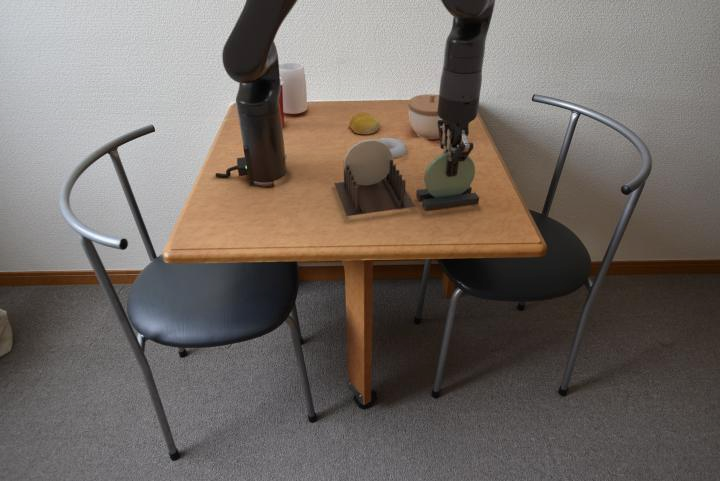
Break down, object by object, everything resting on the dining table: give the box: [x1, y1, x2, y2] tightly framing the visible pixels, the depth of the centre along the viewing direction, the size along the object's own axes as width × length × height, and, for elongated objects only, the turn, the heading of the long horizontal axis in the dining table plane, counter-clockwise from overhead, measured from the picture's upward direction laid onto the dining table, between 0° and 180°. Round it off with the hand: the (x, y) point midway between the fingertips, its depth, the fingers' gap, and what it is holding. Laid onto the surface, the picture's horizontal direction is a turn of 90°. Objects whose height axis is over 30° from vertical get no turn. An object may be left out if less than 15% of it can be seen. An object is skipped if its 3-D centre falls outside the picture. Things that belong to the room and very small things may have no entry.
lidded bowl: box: [407, 93, 442, 140], centre depth 130 cm, size 13×13×11 cm
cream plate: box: [343, 138, 394, 186], centre depth 105 cm, size 11×1×11 cm, turn 103°
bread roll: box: [348, 112, 380, 135], centre depth 135 cm, size 8×9×4 cm
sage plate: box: [423, 151, 476, 198], centre depth 99 cm, size 11×1×11 cm, turn 103°
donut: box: [376, 137, 408, 160], centre depth 122 cm, size 10×4×10 cm
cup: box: [279, 61, 308, 115], centre depth 143 cm, size 8×8×14 cm
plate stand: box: [415, 185, 480, 212], centre depth 103 cm, size 12×6×3 cm, turn 103°
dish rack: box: [334, 159, 416, 217], centre depth 104 cm, size 15×14×8 cm
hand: (449, 173), depth 99 cm, fingers closed on sage plate, 1 cm apart
